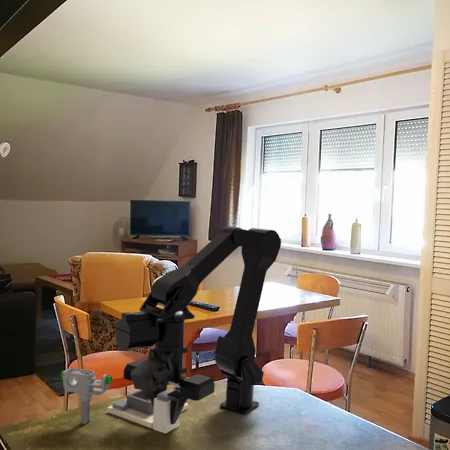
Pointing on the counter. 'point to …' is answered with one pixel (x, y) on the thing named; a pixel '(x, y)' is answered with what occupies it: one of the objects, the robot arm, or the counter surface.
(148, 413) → the board
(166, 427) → the plug
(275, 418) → the counter surface
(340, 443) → the counter surface
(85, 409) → the mechanical component
